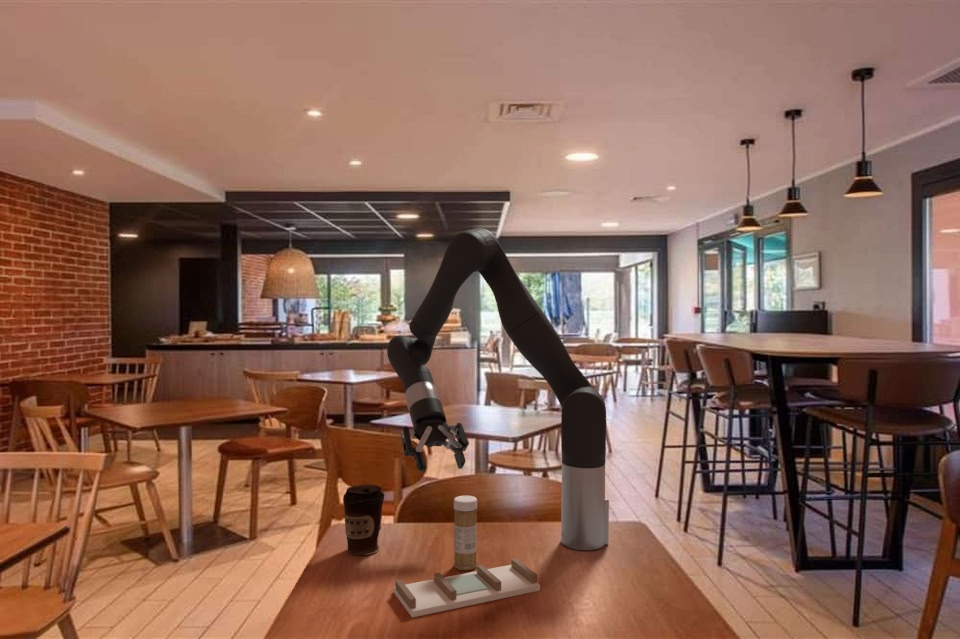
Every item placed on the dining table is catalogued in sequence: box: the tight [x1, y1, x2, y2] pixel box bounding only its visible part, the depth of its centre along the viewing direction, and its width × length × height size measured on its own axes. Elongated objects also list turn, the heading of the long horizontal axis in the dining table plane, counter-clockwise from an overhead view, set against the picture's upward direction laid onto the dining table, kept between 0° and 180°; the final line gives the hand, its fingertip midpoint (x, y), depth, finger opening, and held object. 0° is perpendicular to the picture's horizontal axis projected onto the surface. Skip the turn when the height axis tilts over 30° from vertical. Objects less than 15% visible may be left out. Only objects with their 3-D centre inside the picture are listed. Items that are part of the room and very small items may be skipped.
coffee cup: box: [342, 484, 385, 556], centre depth 131 cm, size 9×8×13 cm
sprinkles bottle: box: [453, 494, 478, 571], centre depth 123 cm, size 5×5×14 cm
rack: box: [393, 558, 541, 618], centre depth 113 cm, size 24×10×2 cm, turn 115°
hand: (443, 468), depth 134 cm, fingers open, 8 cm apart
